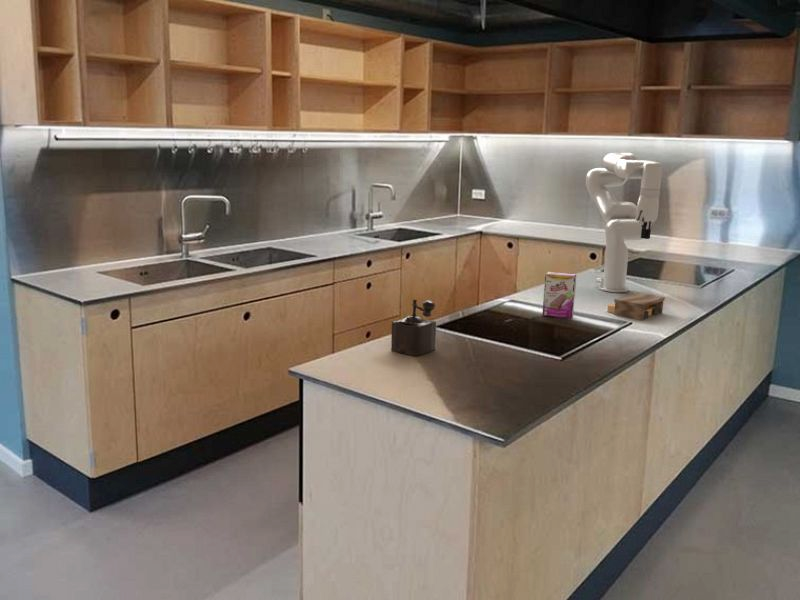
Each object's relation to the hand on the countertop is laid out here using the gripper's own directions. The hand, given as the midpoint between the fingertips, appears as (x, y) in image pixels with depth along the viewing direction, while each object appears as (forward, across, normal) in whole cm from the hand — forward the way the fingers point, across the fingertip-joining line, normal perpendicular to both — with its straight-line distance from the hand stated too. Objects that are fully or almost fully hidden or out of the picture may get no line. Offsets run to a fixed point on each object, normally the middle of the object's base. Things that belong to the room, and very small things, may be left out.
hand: (645, 238), depth 293 cm
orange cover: (+26, +20, +9) cm, 34 cm away
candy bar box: (+26, +48, -6) cm, 55 cm away
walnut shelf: (+26, +20, +11) cm, 35 cm away
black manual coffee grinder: (+26, +120, -6) cm, 123 cm away
